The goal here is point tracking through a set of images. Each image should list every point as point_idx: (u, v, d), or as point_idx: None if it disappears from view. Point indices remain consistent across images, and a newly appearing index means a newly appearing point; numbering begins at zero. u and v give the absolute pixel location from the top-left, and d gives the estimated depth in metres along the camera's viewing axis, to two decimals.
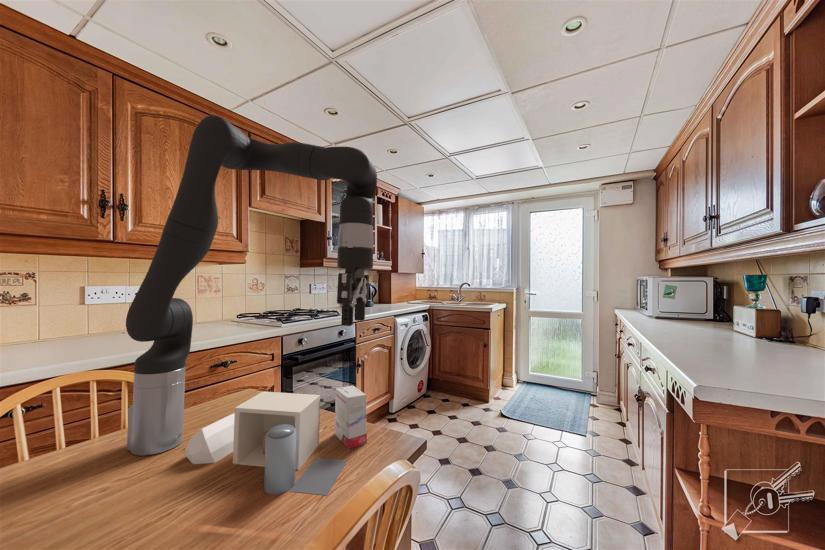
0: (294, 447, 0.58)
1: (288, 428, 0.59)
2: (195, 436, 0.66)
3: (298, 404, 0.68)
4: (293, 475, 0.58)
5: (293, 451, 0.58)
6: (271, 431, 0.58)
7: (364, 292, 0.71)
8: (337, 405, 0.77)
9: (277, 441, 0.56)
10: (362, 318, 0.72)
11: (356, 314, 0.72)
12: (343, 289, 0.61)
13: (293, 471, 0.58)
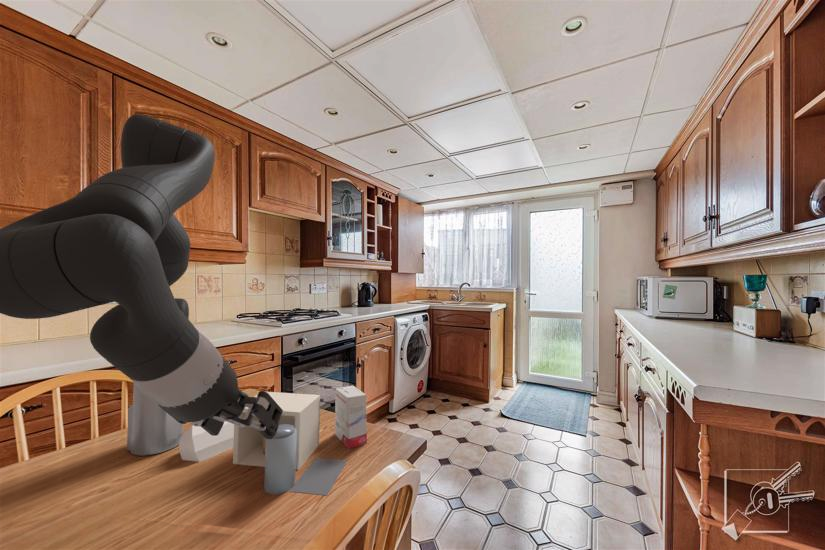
0: (294, 447, 0.58)
1: (288, 428, 0.59)
2: (186, 432, 0.67)
3: (298, 404, 0.68)
4: (293, 475, 0.58)
5: (293, 451, 0.58)
6: None
7: None
8: (337, 405, 0.77)
9: (277, 441, 0.56)
10: None
11: None
12: None
13: (293, 471, 0.58)
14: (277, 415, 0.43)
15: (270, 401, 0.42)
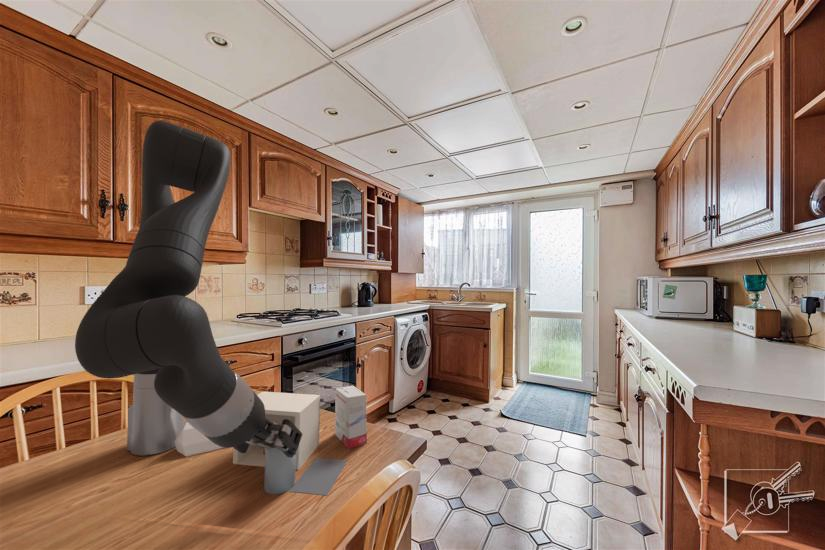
0: None
1: None
2: (183, 425, 0.71)
3: (298, 404, 0.68)
4: (293, 475, 0.58)
5: None
6: None
7: None
8: (337, 405, 0.77)
9: None
10: None
11: None
12: None
13: (293, 471, 0.58)
14: (298, 438, 0.50)
15: (292, 427, 0.49)
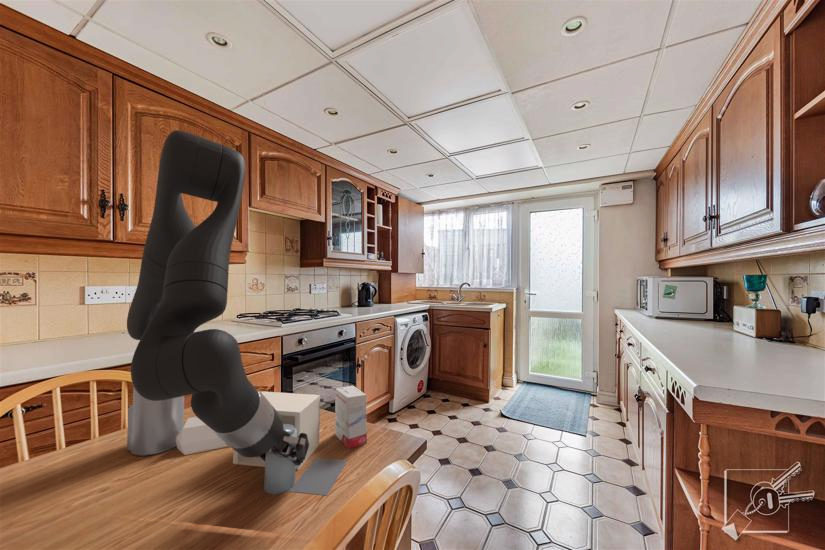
0: None
1: (289, 428, 0.59)
2: (184, 423, 0.72)
3: (298, 404, 0.68)
4: (293, 475, 0.58)
5: None
6: None
7: None
8: (337, 405, 0.77)
9: None
10: None
11: None
12: None
13: (293, 471, 0.58)
14: None
15: (306, 440, 0.55)
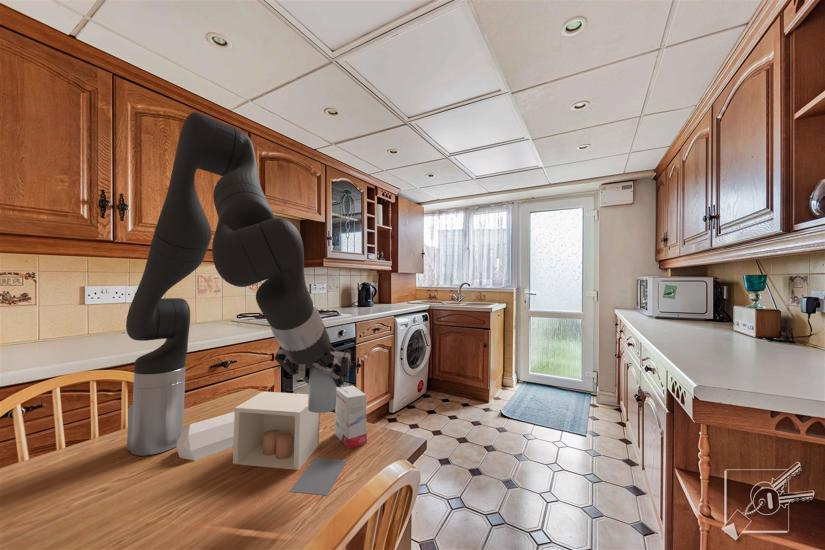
0: None
1: None
2: (184, 430, 0.68)
3: (298, 404, 0.68)
4: (335, 395, 0.62)
5: None
6: None
7: None
8: (337, 405, 0.77)
9: None
10: None
11: None
12: None
13: (335, 391, 0.62)
14: None
15: (350, 357, 0.58)
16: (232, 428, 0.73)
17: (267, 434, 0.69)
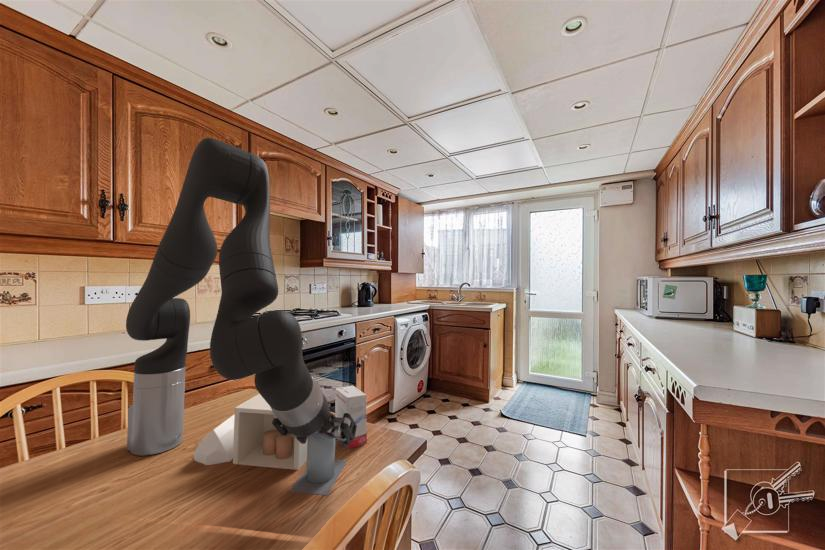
0: None
1: None
2: (207, 437, 0.65)
3: None
4: (333, 463, 0.61)
5: (333, 440, 0.61)
6: None
7: None
8: (337, 405, 0.77)
9: None
10: None
11: None
12: None
13: (333, 459, 0.61)
14: (354, 430, 0.59)
15: (351, 420, 0.57)
16: None
17: (267, 434, 0.69)
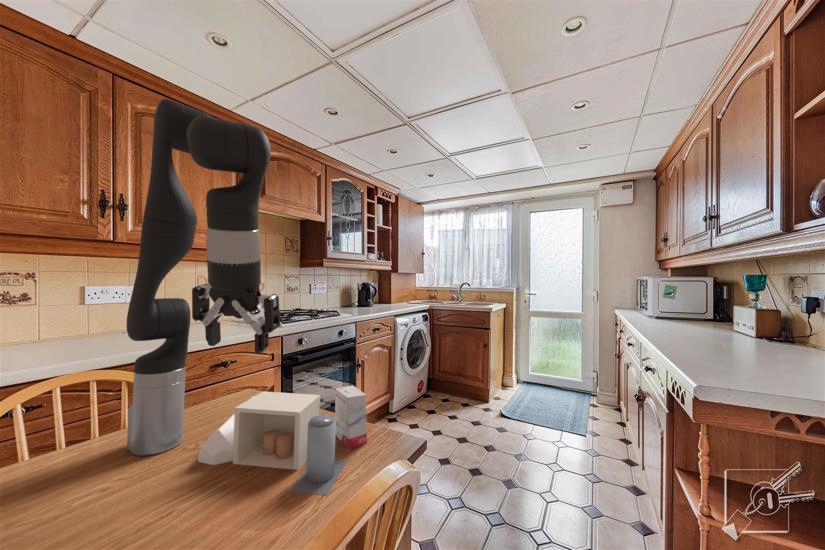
0: (334, 435, 0.62)
1: (328, 418, 0.63)
2: (212, 438, 0.65)
3: (298, 404, 0.68)
4: (333, 462, 0.61)
5: (333, 440, 0.61)
6: (313, 420, 0.61)
7: None
8: (337, 405, 0.77)
9: (319, 430, 0.59)
10: None
11: None
12: None
13: (333, 459, 0.61)
14: (275, 323, 0.54)
15: (277, 305, 0.53)
16: None
17: (267, 434, 0.69)
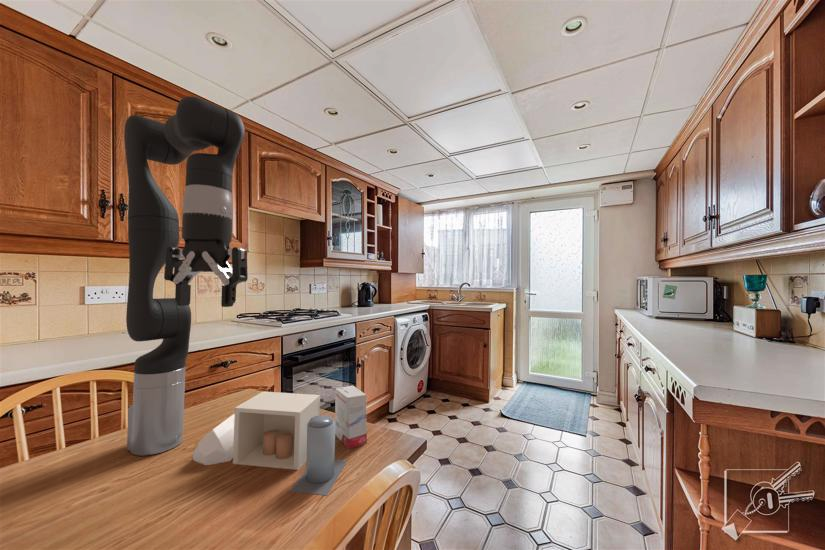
0: (333, 436, 0.61)
1: (327, 418, 0.62)
2: (206, 437, 0.65)
3: (298, 404, 0.68)
4: (333, 463, 0.61)
5: (333, 440, 0.61)
6: (312, 421, 0.61)
7: None
8: (337, 405, 0.77)
9: (318, 431, 0.59)
10: None
11: None
12: None
13: (333, 459, 0.61)
14: (243, 275, 0.57)
15: (245, 258, 0.57)
16: None
17: (267, 434, 0.69)
